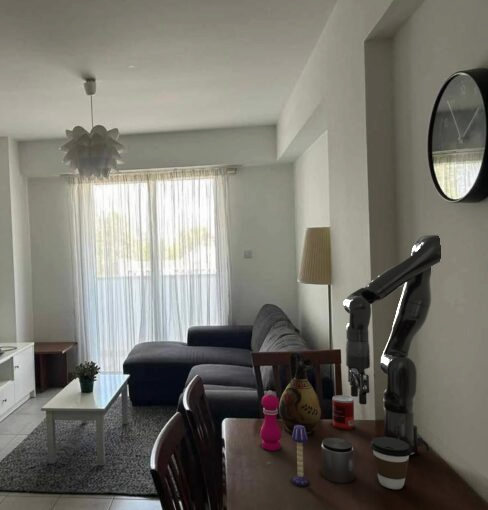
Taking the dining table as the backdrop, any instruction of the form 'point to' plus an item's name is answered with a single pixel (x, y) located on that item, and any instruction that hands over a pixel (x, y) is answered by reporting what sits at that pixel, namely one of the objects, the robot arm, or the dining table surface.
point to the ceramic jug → (299, 397)
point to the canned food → (343, 412)
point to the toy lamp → (300, 453)
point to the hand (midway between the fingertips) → (358, 400)
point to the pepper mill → (270, 423)
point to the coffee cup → (391, 461)
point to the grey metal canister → (337, 460)
